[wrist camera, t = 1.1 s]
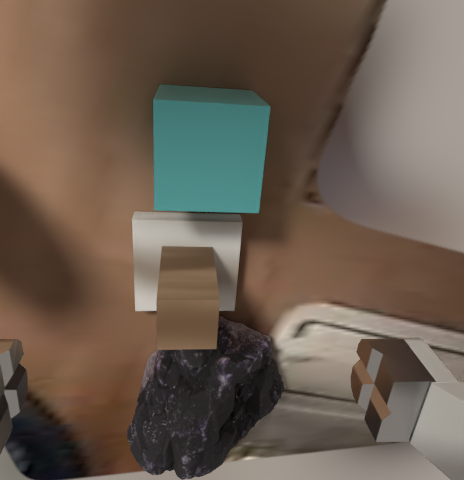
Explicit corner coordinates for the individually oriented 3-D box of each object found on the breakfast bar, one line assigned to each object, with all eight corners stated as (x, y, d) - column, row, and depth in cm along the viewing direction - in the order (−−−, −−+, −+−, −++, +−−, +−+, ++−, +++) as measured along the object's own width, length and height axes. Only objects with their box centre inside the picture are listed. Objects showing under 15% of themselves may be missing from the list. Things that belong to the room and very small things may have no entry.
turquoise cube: (159, 84, 28) (153, 99, 22) (252, 90, 28) (270, 106, 22) (159, 174, 30) (154, 210, 24) (244, 178, 31) (258, 213, 25)
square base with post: (134, 211, 31) (118, 269, 24) (240, 214, 32) (257, 271, 25) (137, 300, 35) (124, 375, 27) (232, 300, 36) (245, 372, 28)
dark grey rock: (296, 316, 38) (323, 391, 29) (265, 429, 43) (279, 525, 34) (150, 295, 37) (129, 368, 28) (134, 414, 42) (112, 510, 32)
